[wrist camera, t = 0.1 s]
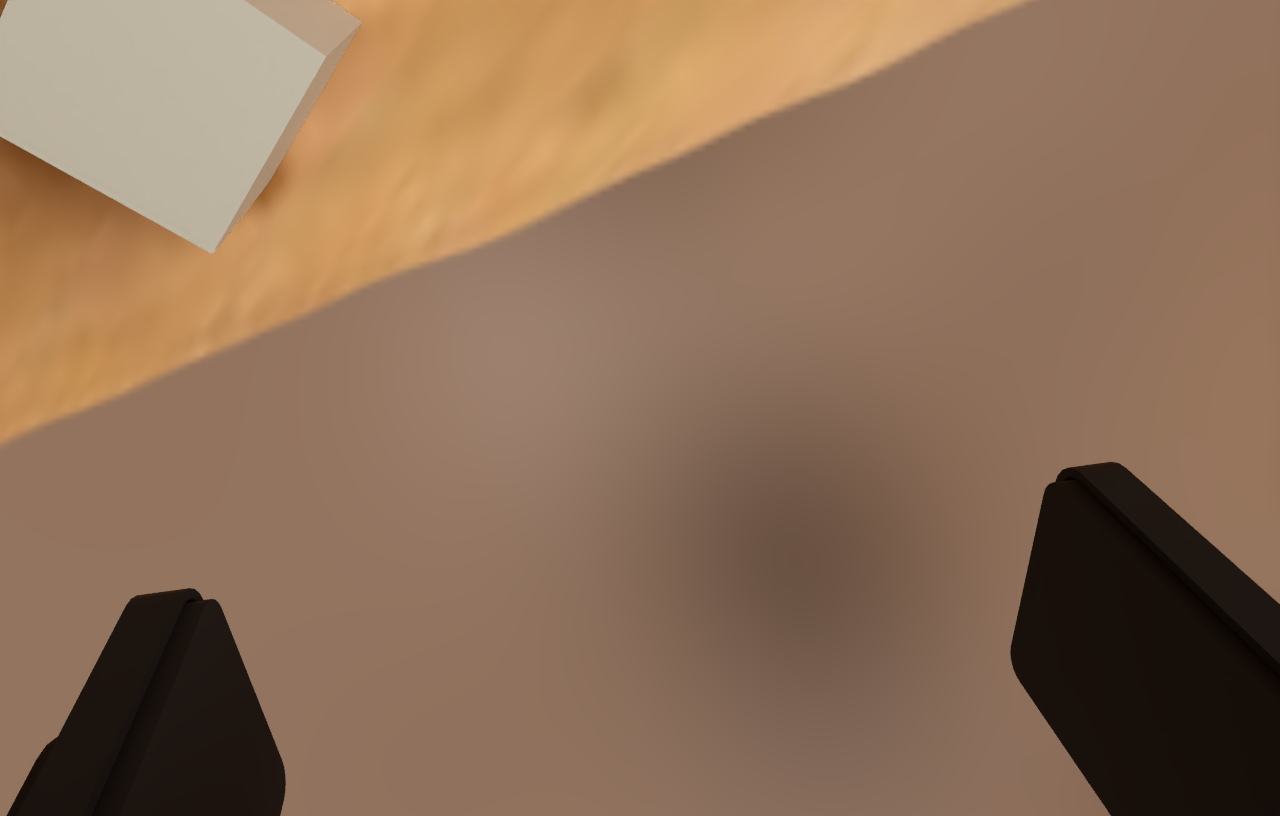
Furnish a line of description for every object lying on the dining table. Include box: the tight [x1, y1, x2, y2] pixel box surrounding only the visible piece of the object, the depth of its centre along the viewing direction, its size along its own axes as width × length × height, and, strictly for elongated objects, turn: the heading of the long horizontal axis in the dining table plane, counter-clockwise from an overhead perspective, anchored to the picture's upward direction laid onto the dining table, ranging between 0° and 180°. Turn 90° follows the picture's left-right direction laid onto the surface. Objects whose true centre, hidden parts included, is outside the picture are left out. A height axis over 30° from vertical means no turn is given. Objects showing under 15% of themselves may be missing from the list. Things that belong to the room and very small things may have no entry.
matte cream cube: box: [0, 0, 362, 254], centre depth 30 cm, size 8×8×9 cm
